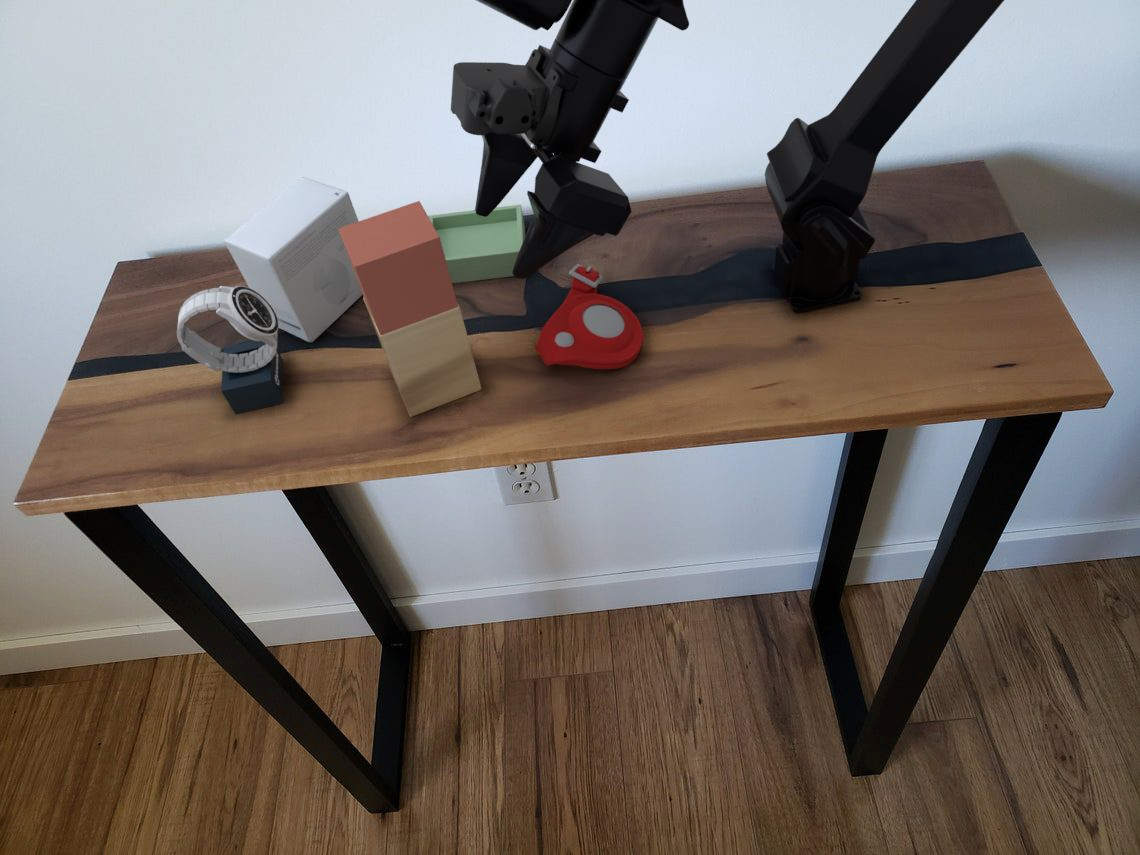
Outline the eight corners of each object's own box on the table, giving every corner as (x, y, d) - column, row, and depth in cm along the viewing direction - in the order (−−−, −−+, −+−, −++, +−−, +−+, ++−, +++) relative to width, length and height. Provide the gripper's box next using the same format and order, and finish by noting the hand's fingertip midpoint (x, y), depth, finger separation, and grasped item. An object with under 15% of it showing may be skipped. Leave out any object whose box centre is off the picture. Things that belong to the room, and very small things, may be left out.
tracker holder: (668, 339, 76) (575, 372, 72) (652, 370, 80) (563, 403, 75) (596, 245, 81) (504, 270, 76) (584, 277, 85) (496, 303, 80)
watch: (304, 398, 78) (259, 309, 69) (215, 418, 77) (158, 331, 69) (303, 354, 81) (260, 264, 73) (218, 373, 81) (164, 285, 72)
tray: (525, 228, 90) (521, 204, 88) (527, 274, 85) (523, 250, 83) (434, 238, 90) (428, 215, 88) (432, 285, 86) (425, 262, 83)
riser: (482, 389, 76) (460, 307, 69) (410, 417, 75) (379, 336, 67) (462, 352, 80) (439, 269, 72) (393, 378, 78) (362, 296, 71)
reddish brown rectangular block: (458, 306, 69) (439, 236, 63) (380, 335, 67) (354, 266, 62) (438, 270, 72) (419, 200, 66) (363, 297, 70) (337, 228, 65)
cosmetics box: (335, 259, 90) (301, 173, 82) (382, 278, 87) (351, 191, 79) (263, 322, 85) (219, 238, 76) (311, 345, 82) (270, 259, 74)
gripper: (452, -33, 62) (376, 160, 70) (544, 73, 51) (441, 291, 58) (575, 26, 69) (494, 196, 77) (683, 132, 57) (573, 320, 65)
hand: (498, 244), depth 69 cm, fingers open, 9 cm apart
